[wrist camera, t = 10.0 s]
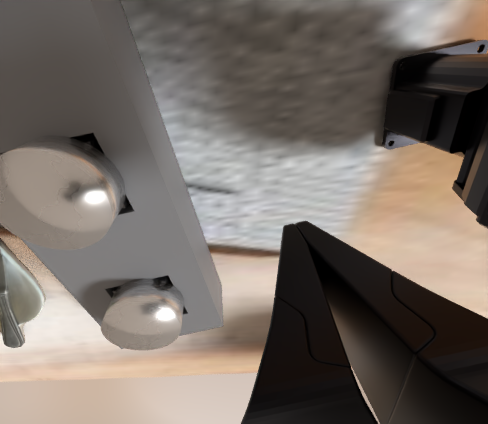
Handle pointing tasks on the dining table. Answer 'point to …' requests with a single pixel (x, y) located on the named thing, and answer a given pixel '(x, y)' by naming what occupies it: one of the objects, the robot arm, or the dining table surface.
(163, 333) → the plunger
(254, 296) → the dining table surface
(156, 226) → the console
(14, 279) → the salad plate
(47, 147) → the plunger middle
